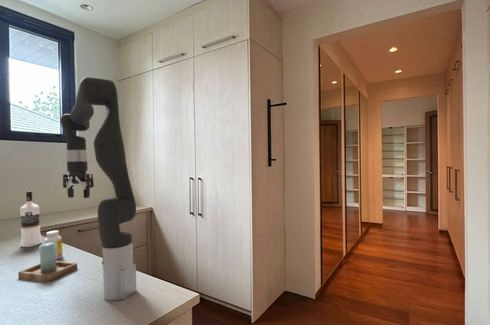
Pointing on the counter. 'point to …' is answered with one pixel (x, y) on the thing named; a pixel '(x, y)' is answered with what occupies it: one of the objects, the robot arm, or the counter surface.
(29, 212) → the vodka
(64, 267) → the tray
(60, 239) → the supplement bottle
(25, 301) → the counter surface
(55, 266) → the pale green capsule
